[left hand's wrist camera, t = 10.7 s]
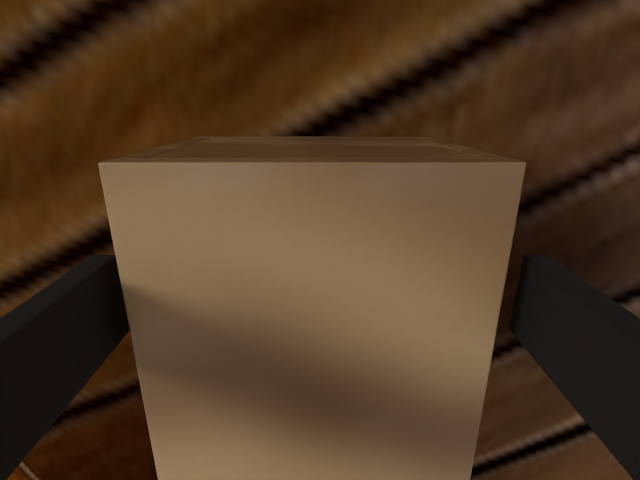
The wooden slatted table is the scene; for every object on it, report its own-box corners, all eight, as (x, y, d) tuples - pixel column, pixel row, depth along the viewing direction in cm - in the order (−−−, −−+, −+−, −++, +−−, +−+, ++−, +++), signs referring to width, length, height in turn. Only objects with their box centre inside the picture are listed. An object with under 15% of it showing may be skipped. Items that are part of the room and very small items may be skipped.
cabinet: (404, 404, 24) (454, 571, 15) (226, 406, 24) (175, 574, 15) (429, 136, 18) (527, 161, 10) (198, 136, 18) (96, 162, 10)
